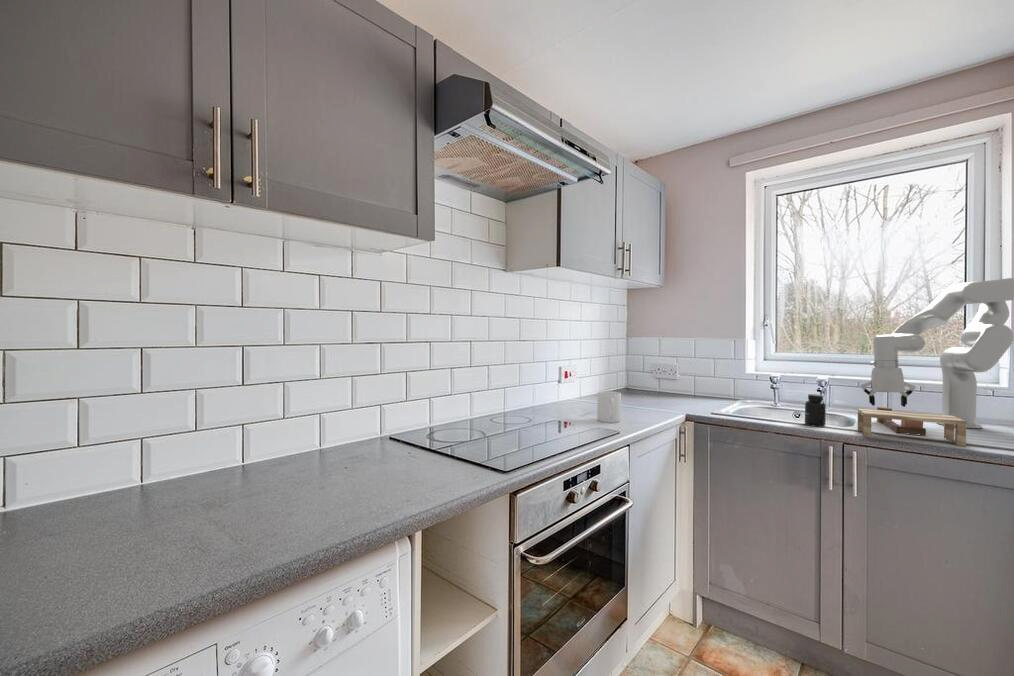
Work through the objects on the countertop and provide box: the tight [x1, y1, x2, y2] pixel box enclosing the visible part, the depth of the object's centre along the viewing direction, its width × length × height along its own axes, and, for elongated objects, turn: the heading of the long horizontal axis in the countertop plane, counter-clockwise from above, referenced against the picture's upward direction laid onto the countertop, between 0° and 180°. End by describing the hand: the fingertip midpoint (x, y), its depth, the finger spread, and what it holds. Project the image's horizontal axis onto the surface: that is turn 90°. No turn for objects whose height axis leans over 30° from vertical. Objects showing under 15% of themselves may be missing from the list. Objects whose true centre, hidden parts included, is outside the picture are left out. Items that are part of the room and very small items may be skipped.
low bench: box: [857, 408, 967, 447], centre depth 153 cm, size 12×26×8 cm, turn 60°
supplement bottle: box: [804, 393, 827, 427], centre depth 174 cm, size 7×7×12 cm
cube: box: [900, 420, 924, 428], centre depth 162 cm, size 5×5×5 cm
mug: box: [596, 390, 622, 424], centre depth 178 cm, size 10×12×12 cm
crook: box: [876, 406, 927, 436], centre depth 170 cm, size 26×9×6 cm, turn 150°
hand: (887, 405), depth 180 cm, fingers open, 9 cm apart
